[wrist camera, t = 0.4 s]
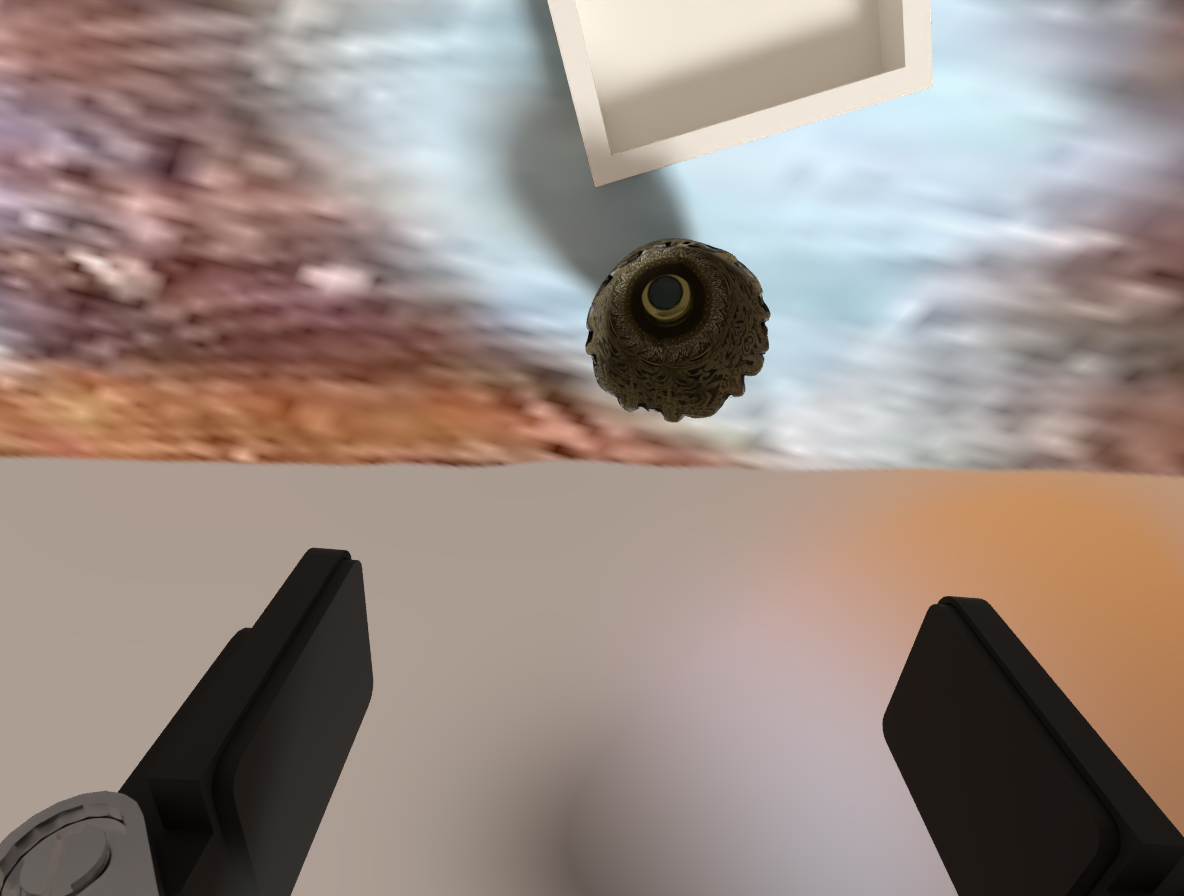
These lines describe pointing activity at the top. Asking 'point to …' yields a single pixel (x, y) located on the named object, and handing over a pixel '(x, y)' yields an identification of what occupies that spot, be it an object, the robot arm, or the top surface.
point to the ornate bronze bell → (678, 330)
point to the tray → (728, 70)
